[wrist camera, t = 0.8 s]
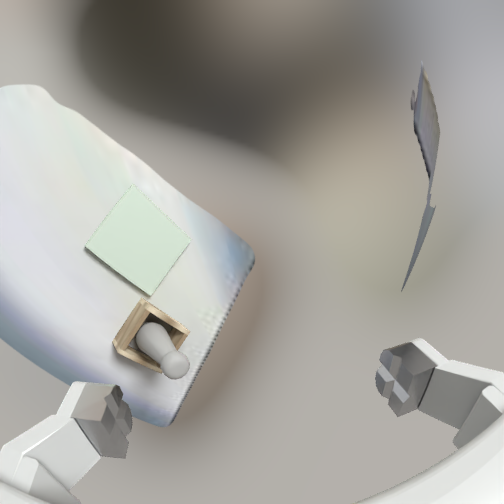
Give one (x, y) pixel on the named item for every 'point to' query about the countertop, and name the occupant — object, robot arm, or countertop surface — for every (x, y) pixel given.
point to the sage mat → (138, 240)
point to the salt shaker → (162, 350)
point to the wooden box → (132, 327)
